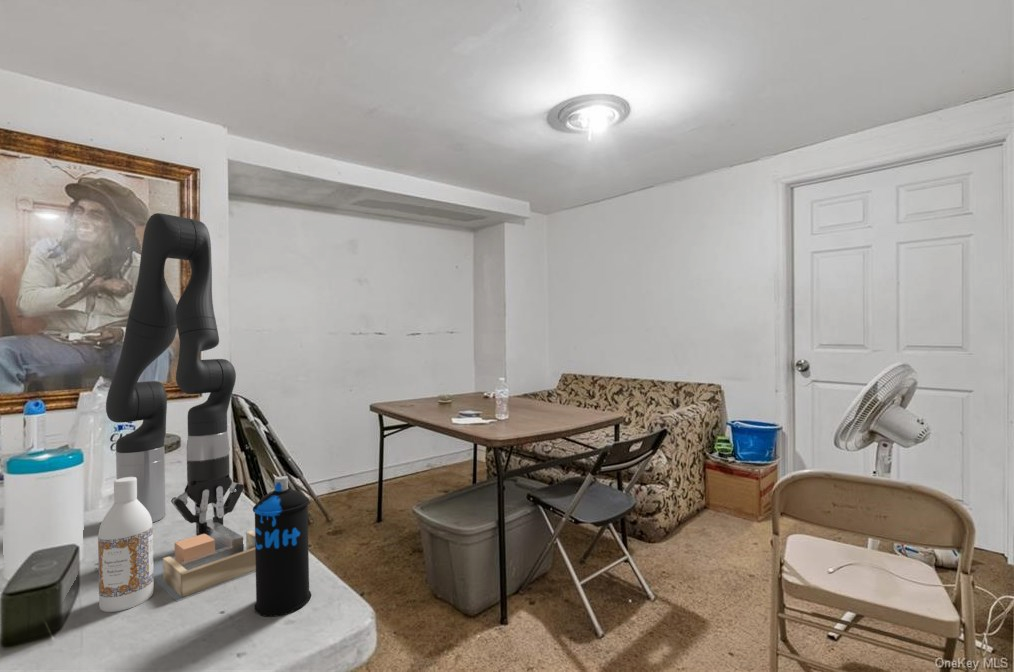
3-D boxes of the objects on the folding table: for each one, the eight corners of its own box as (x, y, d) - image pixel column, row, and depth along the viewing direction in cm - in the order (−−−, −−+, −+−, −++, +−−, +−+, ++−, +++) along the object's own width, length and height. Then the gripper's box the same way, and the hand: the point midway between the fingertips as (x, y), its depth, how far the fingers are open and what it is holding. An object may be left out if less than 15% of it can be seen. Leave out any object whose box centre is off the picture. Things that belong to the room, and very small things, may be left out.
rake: (154, 556, 93) (154, 534, 93) (211, 539, 101) (211, 518, 101) (183, 581, 83) (183, 556, 83) (243, 559, 91) (243, 536, 91)
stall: (163, 580, 84) (162, 558, 84) (251, 550, 95) (251, 530, 95) (183, 599, 77) (182, 574, 77) (275, 563, 89) (274, 542, 89)
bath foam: (88, 617, 73) (86, 487, 73) (115, 593, 80) (113, 475, 80) (140, 610, 74) (138, 483, 75) (161, 587, 81) (159, 471, 81)
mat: (140, 567, 89) (140, 566, 89) (237, 537, 102) (237, 536, 102) (177, 602, 76) (177, 601, 76) (281, 562, 90) (281, 561, 90)
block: (174, 569, 87) (174, 542, 87) (205, 559, 91) (204, 533, 91) (184, 577, 84) (183, 549, 84) (215, 566, 88) (214, 539, 88)
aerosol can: (271, 588, 80) (269, 470, 80) (319, 588, 80) (317, 470, 80) (243, 617, 72) (240, 485, 72) (296, 617, 71) (293, 485, 72)
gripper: (236, 446, 106) (237, 523, 106) (163, 459, 96) (164, 544, 95) (250, 450, 102) (252, 530, 101) (176, 464, 91) (177, 554, 91)
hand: (210, 537), depth 98 cm, fingers closed on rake, 2 cm apart
